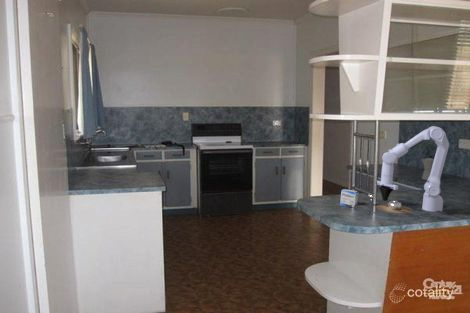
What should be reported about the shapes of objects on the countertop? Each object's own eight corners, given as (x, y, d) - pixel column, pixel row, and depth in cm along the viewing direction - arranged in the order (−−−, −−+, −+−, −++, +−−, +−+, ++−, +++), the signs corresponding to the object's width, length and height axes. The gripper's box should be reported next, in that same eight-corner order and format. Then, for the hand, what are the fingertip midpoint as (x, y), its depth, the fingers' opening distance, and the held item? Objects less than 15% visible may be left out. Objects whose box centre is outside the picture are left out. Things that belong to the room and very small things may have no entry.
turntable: (394, 205, 219) (394, 203, 219) (421, 214, 203) (421, 211, 203) (368, 208, 212) (368, 205, 212) (394, 217, 196) (394, 214, 195)
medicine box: (339, 205, 215) (341, 190, 213) (342, 204, 218) (343, 188, 217) (354, 208, 210) (355, 192, 209) (357, 206, 214) (358, 190, 213)
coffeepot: (419, 179, 302) (421, 155, 299) (418, 177, 311) (420, 154, 308) (442, 181, 297) (444, 157, 294) (440, 179, 305) (443, 155, 303)
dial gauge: (371, 206, 215) (372, 193, 214) (376, 208, 212) (377, 195, 211) (365, 207, 214) (366, 194, 213) (370, 209, 210) (372, 195, 209)
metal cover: (394, 206, 211) (395, 199, 210) (403, 209, 206) (404, 201, 205) (385, 207, 209) (386, 199, 208) (394, 210, 203) (395, 202, 203)
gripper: (371, 173, 216) (369, 197, 218) (391, 178, 203) (389, 204, 205) (381, 172, 219) (379, 196, 221) (402, 177, 206) (399, 203, 208)
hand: (385, 200), depth 213 cm, fingers closed
